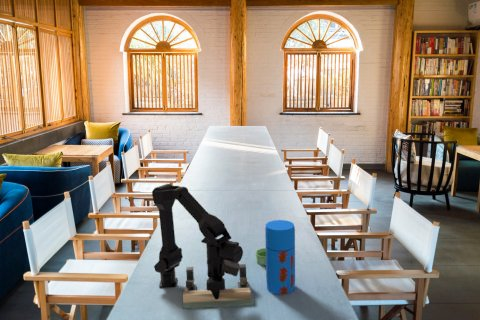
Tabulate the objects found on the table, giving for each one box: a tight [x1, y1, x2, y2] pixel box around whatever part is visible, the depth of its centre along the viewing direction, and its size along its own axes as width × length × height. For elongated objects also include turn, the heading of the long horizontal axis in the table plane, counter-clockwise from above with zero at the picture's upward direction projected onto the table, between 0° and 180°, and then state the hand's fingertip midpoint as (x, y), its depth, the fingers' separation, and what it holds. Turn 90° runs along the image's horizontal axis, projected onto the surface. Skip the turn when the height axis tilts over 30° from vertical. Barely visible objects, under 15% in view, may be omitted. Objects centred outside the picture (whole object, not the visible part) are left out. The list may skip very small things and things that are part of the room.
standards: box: [184, 263, 250, 291], centre depth 170 cm, size 7×24×8 cm, turn 93°
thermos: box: [264, 219, 296, 295], centre depth 168 cm, size 11×11×25 cm
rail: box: [182, 287, 251, 303], centre depth 162 cm, size 3×24×3 cm, turn 93°
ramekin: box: [255, 247, 266, 267], centre depth 192 cm, size 9×9×4 cm
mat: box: [182, 290, 255, 310], centre depth 163 cm, size 8×25×1 cm, turn 93°
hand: (216, 296), depth 162 cm, fingers open, 4 cm apart
